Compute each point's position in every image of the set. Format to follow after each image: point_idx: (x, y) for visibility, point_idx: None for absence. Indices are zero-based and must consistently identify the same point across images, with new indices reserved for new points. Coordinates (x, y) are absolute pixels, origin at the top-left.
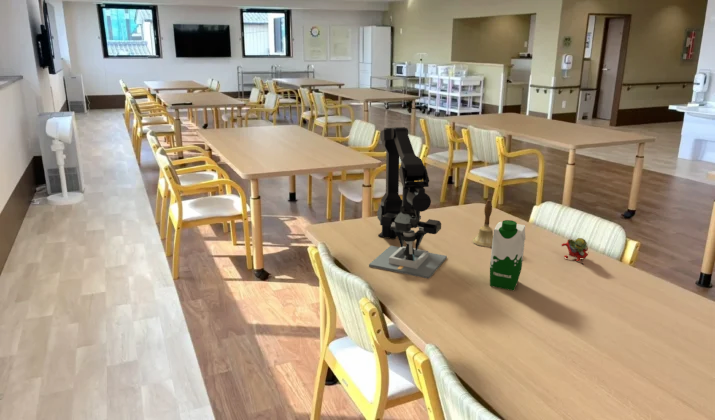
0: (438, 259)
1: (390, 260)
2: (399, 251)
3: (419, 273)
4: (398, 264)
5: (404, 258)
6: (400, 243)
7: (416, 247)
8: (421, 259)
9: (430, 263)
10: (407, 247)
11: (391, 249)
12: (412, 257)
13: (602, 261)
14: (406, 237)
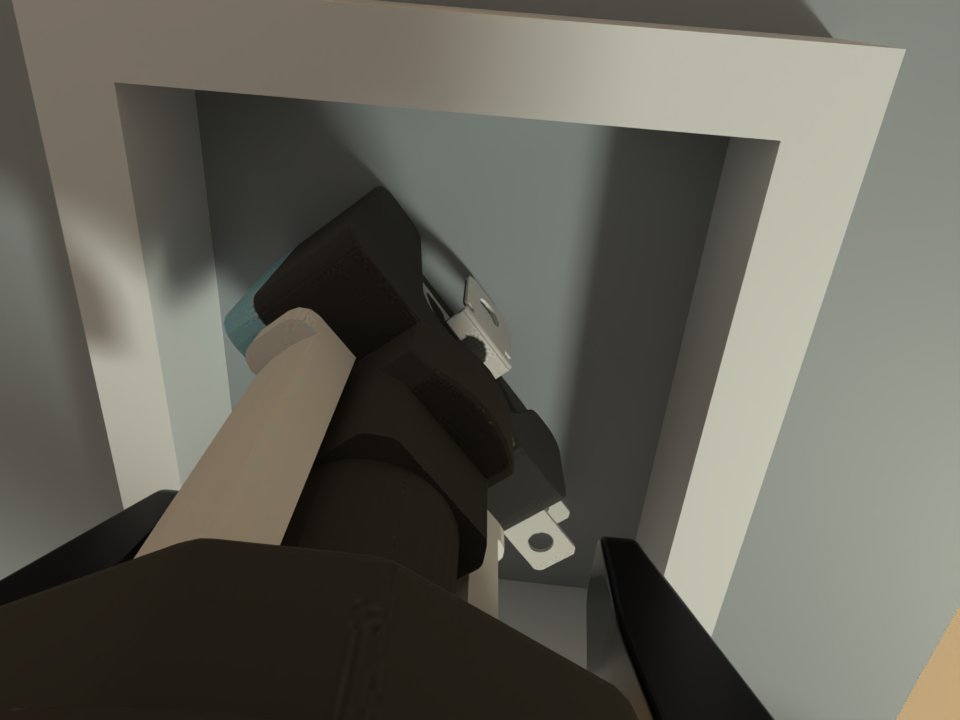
0: (18, 534)
1: (815, 39)
2: (672, 526)
3: None
4: (571, 15)
5: (539, 407)
6: (675, 618)
7: (115, 528)
8: (98, 309)
9: (33, 356)
10: (389, 473)
11: (841, 661)
12: (273, 281)
13: None
14: None
